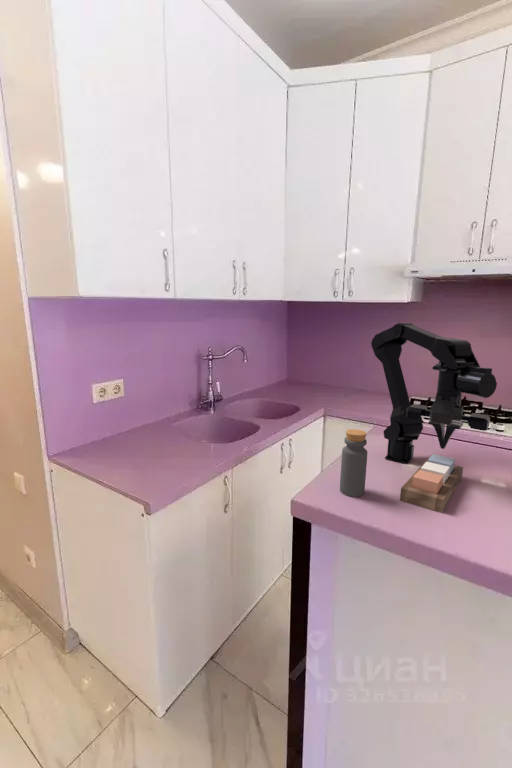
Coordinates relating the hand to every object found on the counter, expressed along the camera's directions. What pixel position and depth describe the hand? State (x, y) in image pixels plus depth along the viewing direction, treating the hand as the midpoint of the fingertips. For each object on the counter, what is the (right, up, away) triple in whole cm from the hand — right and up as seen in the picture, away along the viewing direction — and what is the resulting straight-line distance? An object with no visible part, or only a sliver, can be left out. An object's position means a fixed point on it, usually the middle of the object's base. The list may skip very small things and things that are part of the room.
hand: (442, 448), depth 99 cm
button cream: (-4, -7, -4) cm, 10 cm away
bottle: (-25, -10, -7) cm, 28 cm away
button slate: (0, -6, +1) cm, 6 cm away
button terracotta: (-9, -8, -10) cm, 16 cm away
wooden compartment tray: (-4, -9, -4) cm, 11 cm away
